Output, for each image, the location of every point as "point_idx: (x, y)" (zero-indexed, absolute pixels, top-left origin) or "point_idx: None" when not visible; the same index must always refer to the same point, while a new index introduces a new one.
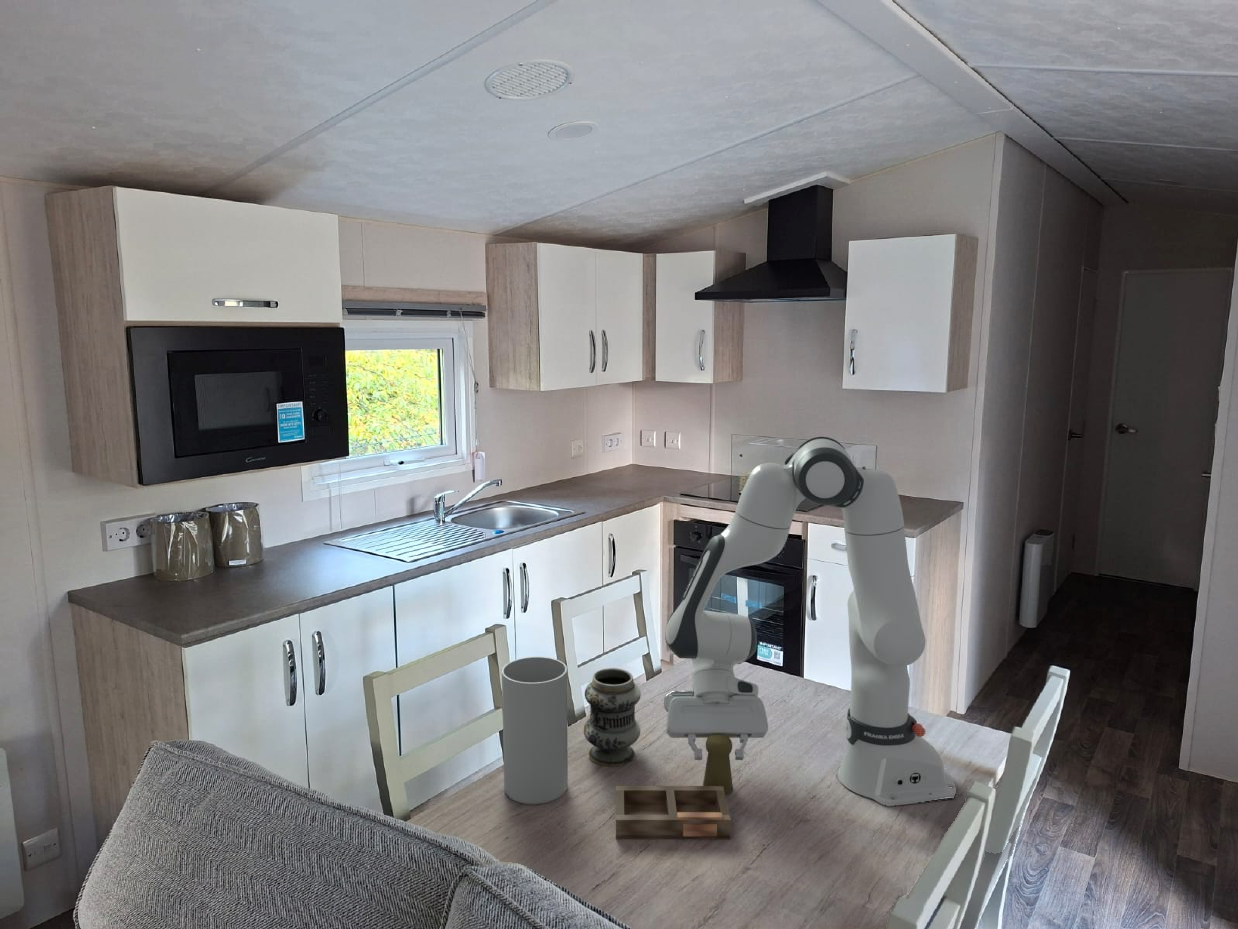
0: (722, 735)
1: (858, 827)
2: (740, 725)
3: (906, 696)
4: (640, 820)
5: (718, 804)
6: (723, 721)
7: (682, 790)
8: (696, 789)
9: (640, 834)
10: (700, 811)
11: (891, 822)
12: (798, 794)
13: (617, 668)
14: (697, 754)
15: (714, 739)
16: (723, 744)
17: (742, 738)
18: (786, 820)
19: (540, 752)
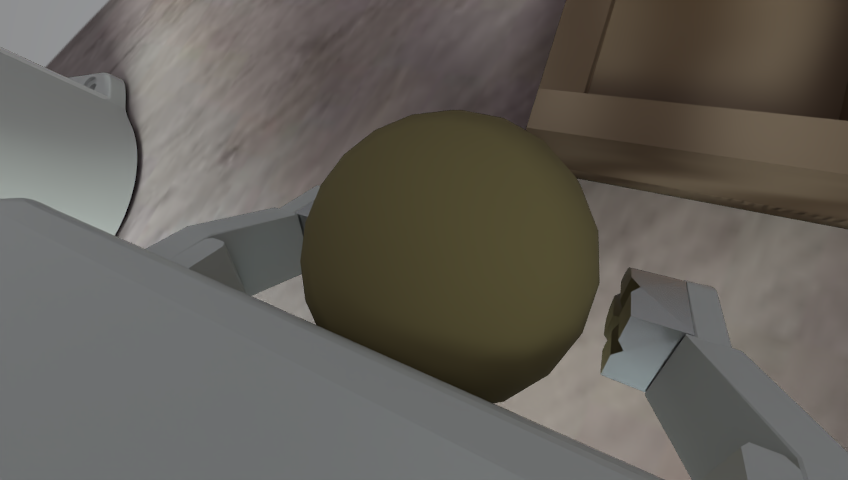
0: (350, 272)
1: (221, 10)
2: (57, 293)
3: None
4: None
5: (610, 7)
6: (139, 462)
7: (832, 120)
8: (712, 116)
9: None
10: (675, 97)
11: (156, 25)
12: (255, 175)
13: None
14: (690, 291)
15: (497, 203)
16: (427, 113)
17: (206, 244)
18: (360, 49)
19: None
